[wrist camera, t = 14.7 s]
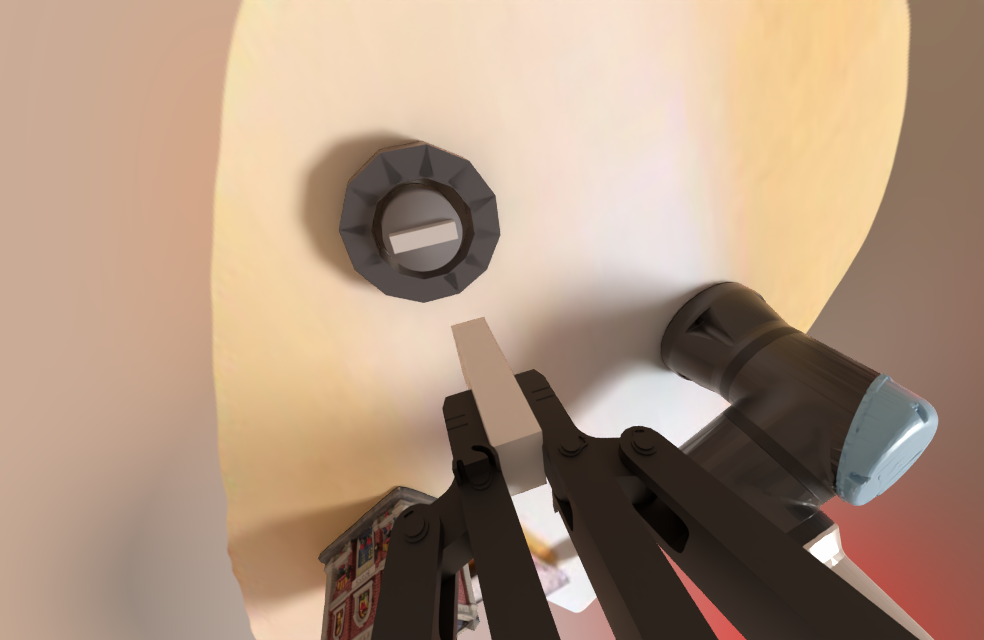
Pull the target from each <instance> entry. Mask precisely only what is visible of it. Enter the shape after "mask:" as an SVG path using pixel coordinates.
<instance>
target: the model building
mask: <svg viewBox="0 0 984 640" xmlns="http://www.w3.org/2000/svg"><path fill="white" fill-rule="evenodd" d="M435 500H437V498H435V497H432V496H429V495H427V494H424V493H421V492H419V491H415V490H412V489H409V488H404V487H398V488H397V489H395V490H393V491H392V492H391V493H390V494H388V495H387V496H386V497H385V498H384V499H382V500H381V501H380V502H379V503H378V504H377V505H375V506H374V507H373V508H372V509H371V510H369V511H368V512H367V513H366V514H365V515H364V516H363V517H362V518H361V519H360V520H359V521H358V522H356V523H355V524H354V525H353V526H352V527H351V528H350V529H349V530H347V531H346V532H345V533H344V534H342V535H341V536H340V537H339V538H338V539H337V540H336V541H335V542H334V543H332V544H331V545H330V546H329V547H328V548H327V549H326V550H325V551H324V552H322V553H321V554H320V556H319V558H318V559H319V560H320V562H321V563H324V564H325V569H324V571H325V572H326V574H327V581H326V592H325V605H324V614H323V624H322V634H321V640H371V635H372V630H373V624H374V619H375V614H376V608H377V603H378V598H379V592H380V587H381V582H382V576H383V571H384V566H385V560H386V555H387V550H388V544H389V539H390V534H391V530H392V527H393V524H394V521H395V520H396V518H397V517H398V516H399V514H400V513H401V512H402V511H403V510H405V509H406V508H408V507H409V506H411V505H415V504H418V503H423V504H428V505H430V504H431V503H432V502H434V501H435ZM477 609H478V605H477V604H476V602H475V598H474V594H473V589H472V584H471V579H470V574H469V568H468V563H467V564H466V565H465V566H464V567H462V568H461V569H460V570H459V593H458V625H457V636H458V635H460V634H461V633H462V632H464V631H465V630H467V629H471V630H475V629H476V627H477V625H478V624H479V622H480V621H479V617H478V612H477Z"/></svg>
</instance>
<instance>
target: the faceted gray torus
mask: <svg viewBox="0 0 984 640" xmlns="http://www.w3.org/2000/svg"><path fill="white" fill-rule="evenodd" d="M423 178H428V179H431V180H433V181H436V182H439V183H442V184H445V185H447V186H450V187H452V188H453V189H454V190H455V191H456V192H457V194H458V195H459V196H460V197H461V198H462V200H463V201H464V203H465V209H466V214H467V220H468V225H469V226H468V229H467V232H466V235H465V238H464V240H463V243H462V246H461V248H460V249H459V250H458V252H457V253H456V255H455V256H454V257H453V258H452V259H451V261H449V262H448V263H447V264H446V265H444V266H442V267H440V268H438V269H435V270H431V271H414V270H410V269H408V268H405V267H403V266H402V265H400V264H398V263H397V262H396V261H395V260H394V259H393V258H391V257H390V256H389V255H388V254H387V253H386V252H385V251H384V250H383V249H381V248H380V247H379V244H378V241H377V238H376V235H375V233H374V230H373V227H372V224H373V219H374V215H375V210H376V206H377V203H378V202H379V201H380V200H381V199H382V198H383V197H384V196H386V195H387V194H388V193H389V192H390V191H391V190H392V189H393V188H394V187H395V186H396V185H397V184H399V183H404V182H408V181H413V180H418V179H423ZM339 232H340V234H341V237H342V239H343V242H344V244H345V247H346V249H347V252H348V254H349V257H350V259H351V262H352V264H353V267H354V269H355V270H356V271H357V272H358V273H359V274H361V275H362V276H363V277H364V278H366V279H367V280H368V281H369V282H371V283H372V284H373V285H374V286H376V287H377V288H378V289H379V290H381V291H382V292H383V293H384V294H386V295H388V296H393V297H398V298H403V299H408V300H413V301H418V302H422V303H425V302H429V301H433V300H436V299H440V298H444V297H448V296H452V295H455V294H459V293H461V292H462V291H463V290H464V289H465V288H466V287H467V286H469V285H470V284H471V283H472V282H473V281H474V280H475V279H477V278H478V277H479V276H480V275H481V274H482V273H483V272H484V271H486V270H487V268H488V265H489V263H490V260H491V258H492V255H493V252H494V250H495V247H496V245H497V242H498V240H499V237H500V228H499V220H498V212H497V204H496V197H495V194H494V193H493V192H492V190H491V189H490V188H489V186H488V185H487V184H486V182H485V181H484V180H483V178H482V177H481V176H480V174H479V173H478V172H477V171H476V169H475V168H474V167H473V165H472V164H471V163H470V161H468V160H467V159H465V158H463V157H461V156H459V155H456V154H454V153H451V152H449V151H446V150H444V149H441V148H439V147H436V146H434V145H431V144H429V143H426V142H424V141H421V142H416V143H410V144H405V145H400V146H394V147H389V148H384V149H379V150H378V151H377V152H376V153H375V154H374V155H373V156H372V157H371V158H370V159H369V161H368V162H367V163H366V164H365V165H364V166H363V167H362V168H361V169H360V170H359V171H358V172H357V173H356V174H355V175H354V176H353V177H352V178H351V179H350V180H349V182H348V185H347V190H346V195H345V200H344V206H343V211H342V216H341V222H340V227H339Z"/></svg>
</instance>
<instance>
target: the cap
mask: <svg viewBox="0 0 984 640" xmlns="http://www.w3.org/2000/svg"><path fill="white" fill-rule="evenodd" d="M381 225H382V237H383V242H384V245H385V248H386V250H387V251H388V253H389V254H390V256H391V257H392V258H393V259H394V260H395V261H396V262H397V263H398V264H400V265H402V266H403V267H405V268H408V269H410V270H414V271H431V270H435V269H438V268H440V267H442V266H444V265H446V264H447V263H448V262H449V261H451V259H452V258H453V257H454V256H455V255H456V253H457V252H458V250H459V247H460V245H461V241H462V225H461V221H460V218H459V216H458V214H457V213H456V211H455V210H454V208H453V207H452V206H451V204H450V203H449V202H448V201H447V199H446V198H445V197H444V196H443V195H442V194H441V193H440V192H439V191H438V190H436V189H434V188H433V187H430V186H428V185H424V184H408V185H405V186H402V187H400V188H398V189H397V190H395V191H394V192H393V193H391V195H390V196H389V197H388V198H387V200H386V201H385V203H384V206H383V209H382V213H381Z"/></svg>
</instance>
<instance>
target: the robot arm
mask: <svg viewBox="0 0 984 640" xmlns="http://www.w3.org/2000/svg"><path fill="white" fill-rule="evenodd" d="M451 328H452V332H453V336H454V340H455V344H456V348H457V352H458V356H459V360H460V364H461V368H462V372H463V375H464V378H465V381H466V384H467V387H468V390H467V391H464V392H461V393H458V394H454V395H451V396H448V397H446V398H445V401H444V405H443V414H444V418H445V422H446V427H447V432H448V437H449V441H450V446H451V450H452V455H453V461H452V470H453V473H454V476H455V477H454V480H453V482H452V485H451V486H450V487H449V489H448V490H447V491H446V492H445V493H444V494H443V495H442V496H441V497H439V498H438V499H437V500H435V501H434V502H432V503H431V504H430V505H428V504H423V503H418V504H415V505H411V506H409V507H408V508H406V509H405V510H403V511H402V512H401V513H400V514H399V516H398V517H397V518H396V520H395V521H394V524H393V527H392V530H391V534H390V539H389V544H388V550H387V555H386V560H385V566H384V571H383V576H382V582H381V587H380V592H379V598H378V603H377V608H376V614H375V619H374V624H373V630H372V635H371V640H457V625H458V593H459V570H460V569H461V568H462V567H464V566H465V565H466V564H467V563H468V562H469V561H471V560H472V559H473V558H474V561H475V566H476V570H477V575H478V579H479V584H480V588H481V593H482V597H483V602H484V607H485V611H486V615H487V620H488V625H489V629H490V634H491V638H492V640H561V639H560V637H559V634H558V631H557V628H556V625H555V622H554V619H553V616H552V614H551V611H550V608H549V605H548V602H547V599H546V596H545V594H544V591H543V588H542V585H541V582H540V579H539V576H538V573H537V571H536V568H535V565H534V562H533V559H532V556H531V553H530V550H529V548H528V545H527V542H526V539H525V536H524V533H523V530H522V527H521V525H520V522H519V519H518V516H517V513H516V510H515V507H514V505H513V502H512V499H511V496H514V495H517V494H519V493H522V492H525V491H528V490H530V489H533V488H536V487H539V486H541V485H544V484H547V481H546V477H547V479H548V481H549V483H550V485H551V488H552V497H553V507H554V511H555V513H556V512H558V511H559V513H560V515H561V517H562V520H563V522H564V524H565V526H566V529H567V531H568V533H569V535H570V538H571V540H572V542H573V544H574V547H575V549H576V551H577V553H578V555H579V558H580V560H581V562H582V564H583V567H584V569H585V571H586V573H587V576H588V578H589V580H590V582H591V584H592V587H593V589H594V591H595V593H596V596H597V598H598V600H599V602H600V604H601V607H602V609H603V611H604V614H605V616H606V618H607V620H608V622H609V625H610V627H611V629H612V631H613V634H614V636H615V638H616V640H718V638H717V637H716V635H715V634H714V632H713V630H712V629H711V627H710V626H709V624H708V623H707V621H706V619H705V618H704V616H703V615H702V613H701V612H700V610H699V608H698V607H697V605H696V604H695V602H694V601H693V599H692V598H691V596H690V594H689V593H688V592H687V590H686V588H685V587H684V585H683V583H682V582H681V580H680V579H679V577H678V576H677V574H676V572H675V571H674V569H673V568H672V566H671V565H670V563H669V561H668V560H667V559H666V557H665V555H664V554H663V552H662V551H661V549H660V547H661V548H662V549H663V550H664V551H665V552H666V553H667V554H668V555H669V556H670V557H671V559H672V560H673V561H674V562H675V563H676V564H677V565H678V566H679V567H680V568H681V570H682V571H683V572H684V573H685V574H686V575H687V576H688V577H689V578H690V579H691V580H692V581H693V582H694V583H695V585H696V586H697V587H698V588H699V589H700V590H701V591H702V592H703V593H704V594H705V595H706V597H707V598H708V599H709V600H710V601H711V602H712V603H713V604H714V605H715V606H716V607H717V608H718V609H719V610H720V612H721V613H722V614H723V615H724V616H725V617H726V618H727V619H728V620H729V621H730V622H731V623H732V625H733V626H734V627H735V628H736V629H737V630H738V631H739V632H740V633H741V634H742V635H743V636H744V637H745V639H747V640H934V639H933V638H932V637H931V636H930V635H929V634H928V633H927V632H925V630H924V629H923V628H921V627H920V626H919V625H918V624H917V623H916V622H915V621H914V620H913V619H912V618H911V617H910V616H909V615H908V614H907V613H906V612H905V611H904V610H903V609H901V607H899V606H898V605H897V604H896V603H895V602H894V601H893V600H892V599H891V598H890V597H889V596H888V595H887V594H886V593H885V592H884V591H883V590H882V589H881V588H879V587H878V586H877V585H876V584H875V583H874V582H873V581H872V580H871V579H870V578H869V577H867V575H866V574H865V573H864V572H863V571H862V570H861V569H860V568H858V567H857V566H856V565H855V564H854V563H853V562H852V561H851V560H850V559H849V558H848V557H847V556H846V555H845V553H844V551H843V549H842V546H841V540H840V534H839V527H838V525H837V524H836V523H834V522H833V521H832V520H831V519H830V518H829V517H828V516H827V515H826V514H824V513H823V512H822V511H821V510H820V508H819V507H820V506H821V505H823V504H824V503H825V502H827V501H828V500H830V499H831V498H832V497H834V496H836V495H837V496H838V497H839V498H840V499H842V500H843V501H846V502H848V503H850V504H852V505H856V506H859V505H863V504H866V503H868V502H869V501H870V500H871V499H873V498H874V497H875V496H878V495H880V494H882V493H883V492H884V491H885V490H887V489H888V488H889V487H890V486H891V485H893V484H894V483H895V482H896V481H897V480H898V479H899V478H900V477H901V476H902V475H903V474H904V473H905V472H906V471H907V470H908V469H909V468H910V467H911V466H912V464H913V463H914V462H915V461H916V460H917V459H918V457H919V456H920V455H921V454H922V453H923V451H924V450H925V448H926V447H927V446H928V444H929V443H930V441H931V439H932V438H933V436H934V434H935V432H936V429H937V425H938V416H937V413H936V411H935V409H934V408H933V406H932V405H931V404H929V402H927V401H926V400H925V399H923V398H921V397H919V396H918V395H916V394H914V393H913V392H911V391H909V390H908V389H906V388H904V387H902V386H900V385H899V384H897V383H896V382H894V381H893V380H892V378H890V377H889V376H887V375H885V374H880V373H878V372H876V371H874V370H873V369H871V368H869V367H867V366H865V365H863V364H861V363H859V362H857V361H855V360H853V359H852V358H850V357H848V356H846V355H844V354H842V353H840V352H838V351H837V350H835V349H833V348H831V347H829V346H827V345H825V344H823V343H821V342H819V341H818V340H816V339H814V338H812V337H810V336H808V335H806V334H804V333H803V332H801V331H799V330H797V329H795V328H793V327H791V326H790V325H788V324H787V323H786V322H785V321H784V320H783V319H782V318H781V317H780V316H779V315H778V314H777V313H776V312H775V311H774V310H773V309H772V308H771V307H770V306H769V305H768V304H767V303H766V301H765V300H764V299H763V297H762V296H761V295H760V294H758V293H757V292H756V291H754V290H752V289H750V288H748V287H746V286H744V285H742V284H739V283H723V284H719V285H716V286H713V287H711V288H709V289H707V290H705V291H703V292H701V293H700V294H698V295H697V296H696V297H694V298H693V299H692V300H690V301H689V302H688V303H687V304H686V305H685V306H684V307H683V308H682V309H681V310H680V311H679V312H678V313H677V315H676V316H675V317H674V318H673V320H672V321H671V323H670V324H669V326H668V328H667V330H666V332H665V334H664V337H663V340H662V345H661V356H662V359H663V361H664V363H665V364H666V366H668V367H669V368H670V369H671V370H672V371H673V372H674V373H675V374H677V375H678V376H680V377H681V378H683V379H686V380H690V381H693V382H695V383H697V384H698V385H700V386H702V387H704V388H707V389H709V390H711V391H713V392H716V393H718V394H719V395H721V396H722V397H723V398H724V399H726V400H727V401H728V402H729V403H730V404H731V406H730V407H728V408H727V409H726V410H725V411H723V412H722V413H721V414H720V415H719V416H717V417H716V418H715V419H714V420H713V421H711V422H710V423H709V424H708V425H706V426H705V427H704V428H703V429H701V430H700V431H699V432H698V433H696V434H695V435H694V436H693V437H691V438H690V439H689V440H688V441H686V442H685V443H684V444H683V445H681V446H680V447H679V448H677V447H676V446H675V445H673V444H672V443H671V442H670V441H668V440H667V439H666V438H665V437H663V436H662V435H661V434H659V433H658V432H656V431H654V430H653V429H651V428H647V427H643V426H633V427H630V428H628V429H626V430H625V431H624V432H623V433H622V434H621V437H620V438H595V437H591V436H588V435H586V434H585V433H583V432H581V431H580V430H579V429H578V428H577V427H576V426H575V425H574V423H573V422H572V420H571V418H570V417H569V415H568V414H567V412H566V410H565V409H564V407H563V406H562V404H561V402H560V401H559V399H558V398H557V396H556V395H555V393H554V391H553V390H552V388H551V387H550V385H549V383H548V382H547V380H546V378H545V377H544V376H543V375H542V374H540V373H539V372H537V371H536V370H534V369H533V370H530V371H526V372H523V373H520V374H517V375H513V373H512V371H511V369H510V367H509V365H508V363H507V361H506V359H505V357H504V355H503V353H502V352H501V350H500V348H499V346H498V344H497V342H496V340H495V338H494V336H493V334H492V332H491V330H490V328H489V326H488V324H487V322H486V320H485V318H484V317H482V318H478V319H474V320H471V321H467V322H464V323H460V324H456V325H453V326H451ZM658 545H659V546H660V547H659V546H658Z"/></svg>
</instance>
